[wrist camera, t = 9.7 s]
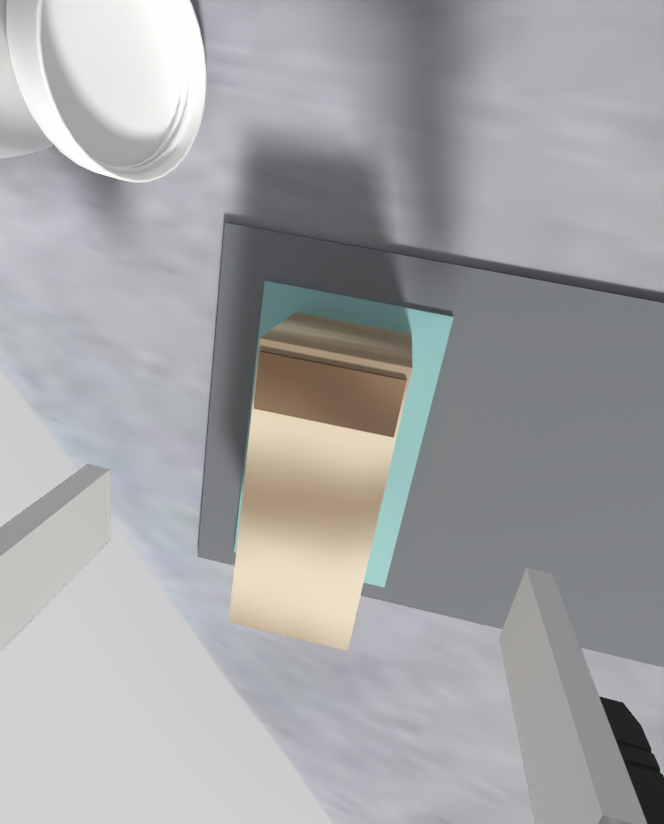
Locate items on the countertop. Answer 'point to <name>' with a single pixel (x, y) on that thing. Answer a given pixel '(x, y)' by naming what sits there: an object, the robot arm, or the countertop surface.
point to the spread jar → (102, 83)
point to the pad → (426, 363)
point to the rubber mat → (486, 436)
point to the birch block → (316, 473)
